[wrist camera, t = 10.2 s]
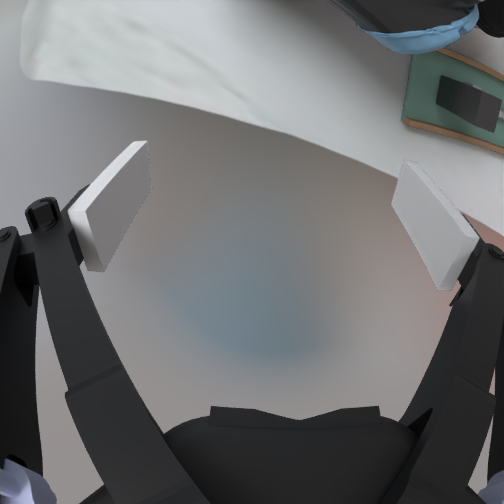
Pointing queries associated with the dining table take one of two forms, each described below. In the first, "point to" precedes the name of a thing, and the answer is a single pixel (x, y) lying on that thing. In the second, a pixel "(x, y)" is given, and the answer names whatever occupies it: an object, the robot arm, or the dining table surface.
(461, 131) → the lane
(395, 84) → the dining table surface
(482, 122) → the striker rod
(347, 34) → the dining table surface
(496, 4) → the coffee cup
